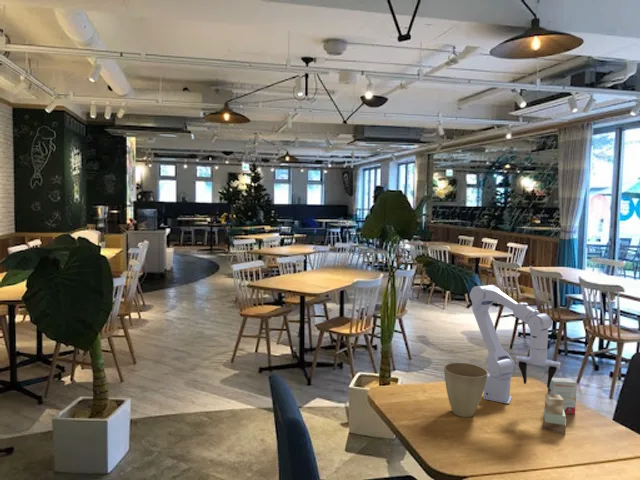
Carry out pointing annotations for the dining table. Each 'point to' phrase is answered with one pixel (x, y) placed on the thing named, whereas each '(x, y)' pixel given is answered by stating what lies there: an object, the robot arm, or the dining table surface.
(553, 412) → the maple block
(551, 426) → the walnut base block
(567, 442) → the dining table surface
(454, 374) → the plant pot
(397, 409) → the dining table surface
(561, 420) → the sage top block
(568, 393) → the ink box
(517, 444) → the dining table surface
